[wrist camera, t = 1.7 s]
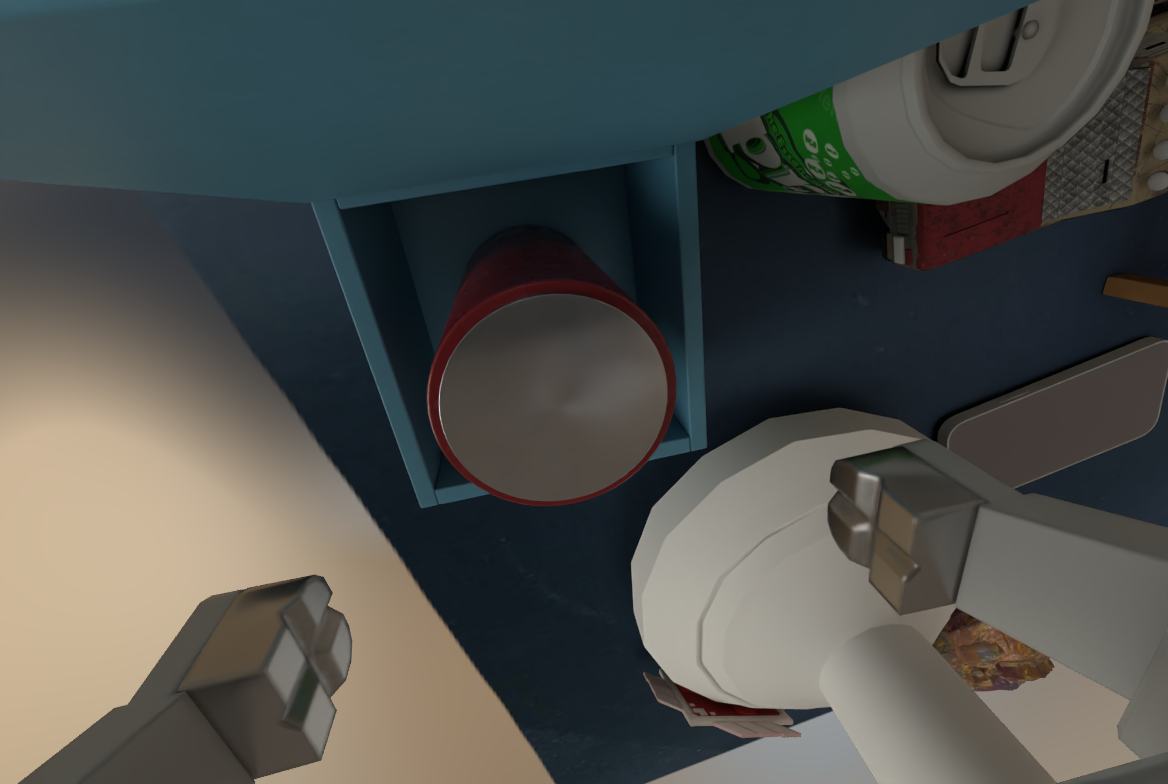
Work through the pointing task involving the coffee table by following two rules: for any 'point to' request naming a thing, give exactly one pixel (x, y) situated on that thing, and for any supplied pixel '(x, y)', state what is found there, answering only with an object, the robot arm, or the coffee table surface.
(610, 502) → the coffee table surface
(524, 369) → the red canister
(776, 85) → the lid
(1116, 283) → the stool
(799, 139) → the soda can
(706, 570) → the candle holder
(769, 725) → the decorative emblem
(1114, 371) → the smartphone
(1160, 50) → the toy vehicle
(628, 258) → the box
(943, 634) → the mineral specimen
